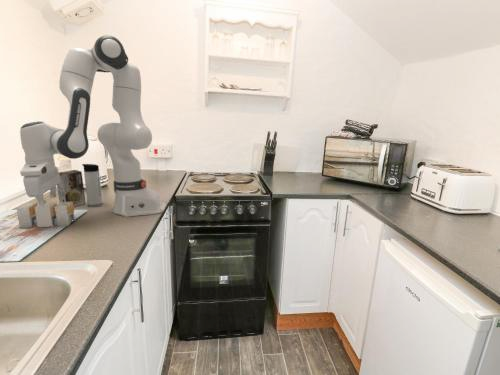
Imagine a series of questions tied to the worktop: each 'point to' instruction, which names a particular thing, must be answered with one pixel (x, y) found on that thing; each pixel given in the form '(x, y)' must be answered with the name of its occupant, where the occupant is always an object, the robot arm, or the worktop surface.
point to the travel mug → (92, 185)
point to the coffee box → (71, 187)
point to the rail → (61, 219)
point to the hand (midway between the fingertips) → (48, 201)
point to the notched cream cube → (45, 214)
